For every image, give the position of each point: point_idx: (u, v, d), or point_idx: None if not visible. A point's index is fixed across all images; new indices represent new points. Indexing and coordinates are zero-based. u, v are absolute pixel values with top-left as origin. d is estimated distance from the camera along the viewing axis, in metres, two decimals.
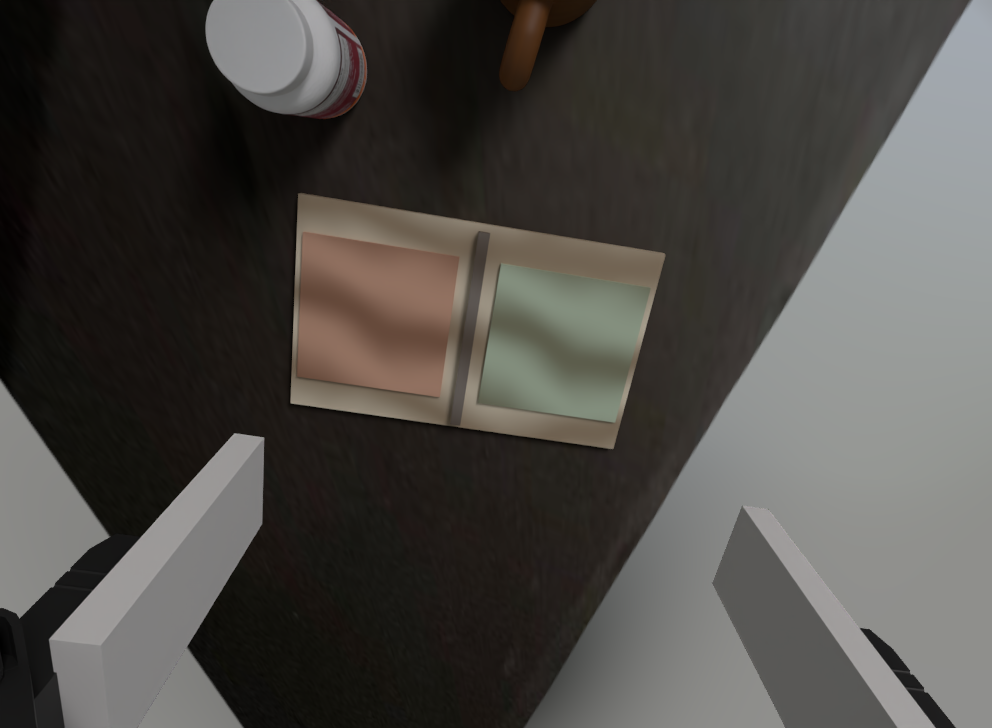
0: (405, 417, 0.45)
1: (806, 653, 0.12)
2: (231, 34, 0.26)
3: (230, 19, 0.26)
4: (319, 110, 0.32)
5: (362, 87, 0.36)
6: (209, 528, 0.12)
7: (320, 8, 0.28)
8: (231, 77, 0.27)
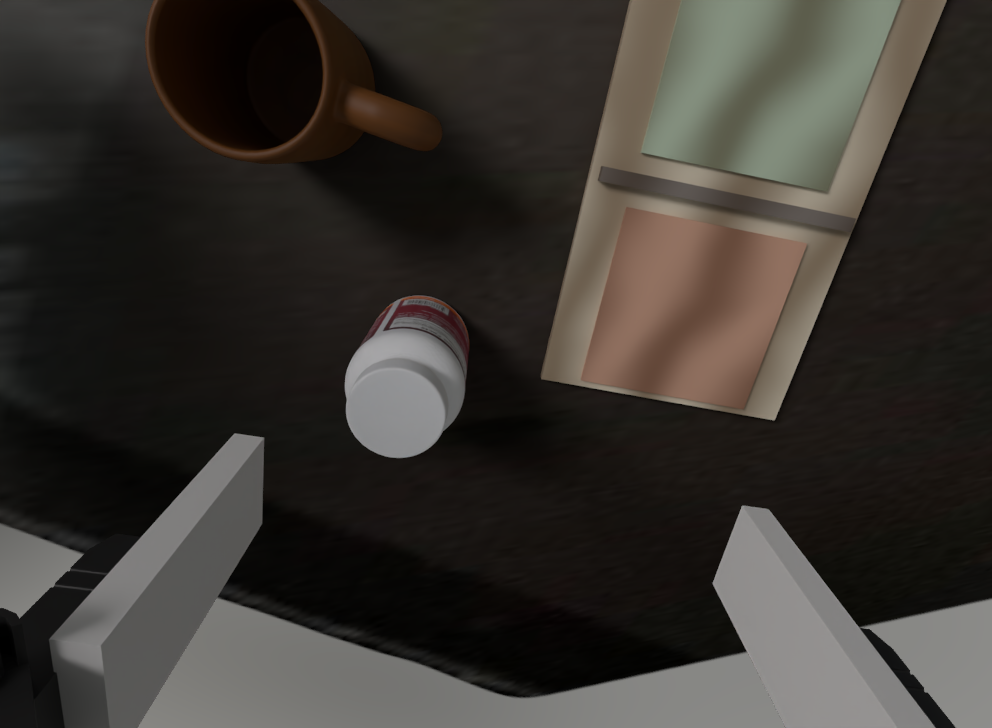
0: (824, 290, 0.35)
1: (806, 653, 0.12)
2: (392, 435, 0.26)
3: (380, 434, 0.26)
4: (461, 354, 0.30)
5: (439, 302, 0.34)
6: (209, 528, 0.12)
7: (367, 344, 0.28)
8: (431, 442, 0.27)
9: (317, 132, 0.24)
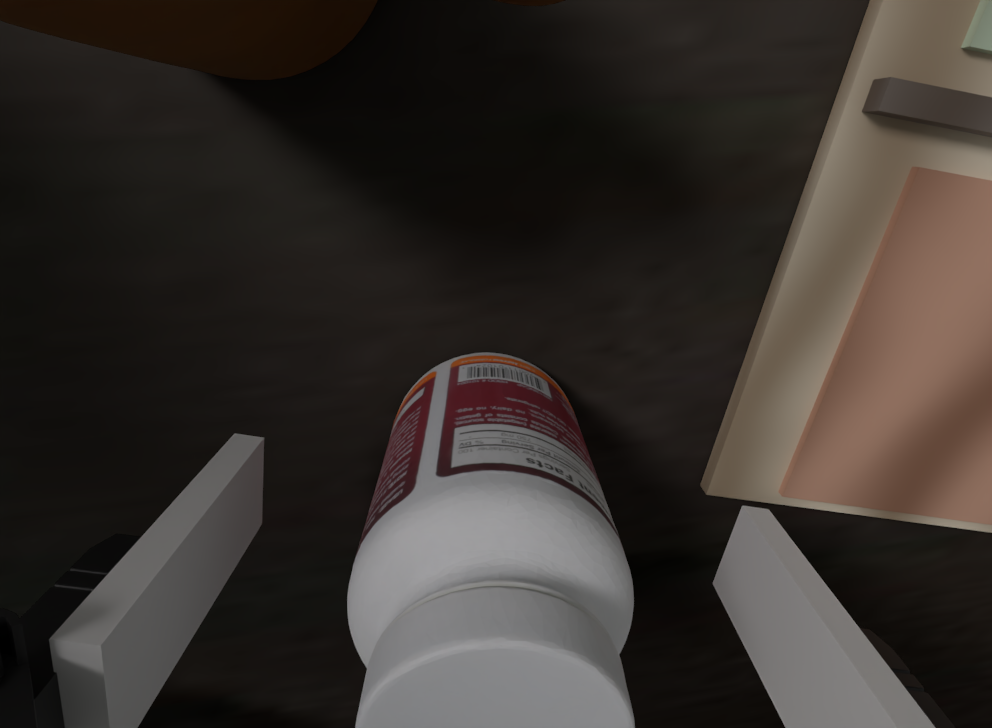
0: None
1: (806, 653, 0.12)
2: None
3: None
4: None
5: (526, 367, 0.17)
6: (209, 528, 0.12)
7: (401, 519, 0.11)
8: None
9: None
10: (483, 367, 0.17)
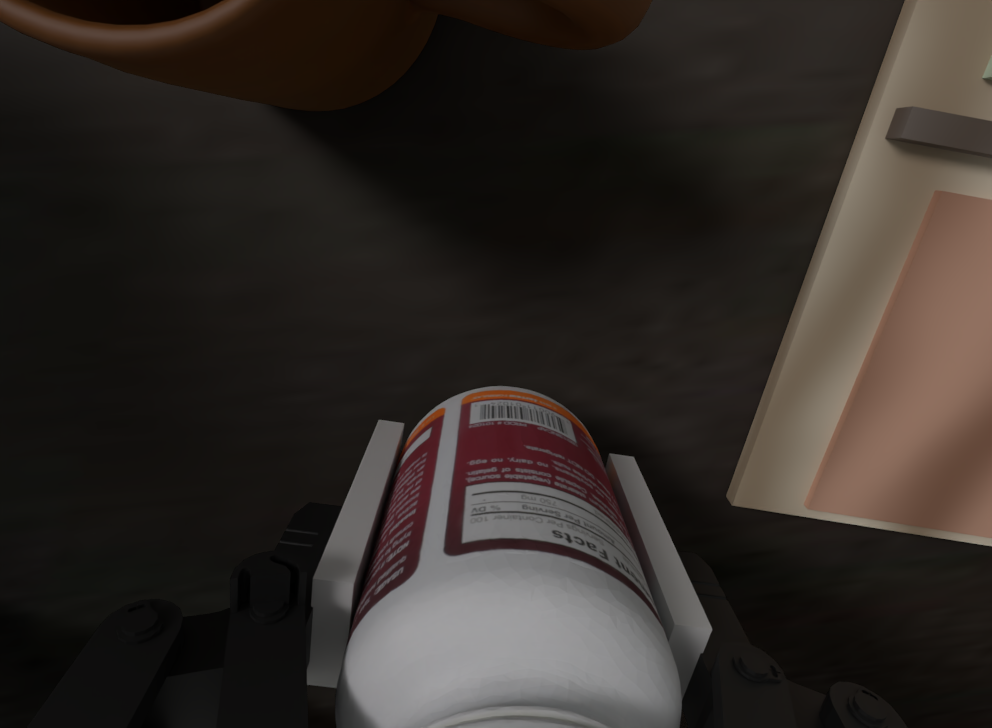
0: None
1: None
2: None
3: None
4: (643, 574, 0.12)
5: (547, 404, 0.15)
6: (384, 498, 0.14)
7: (400, 612, 0.09)
8: None
9: None
10: (498, 405, 0.15)
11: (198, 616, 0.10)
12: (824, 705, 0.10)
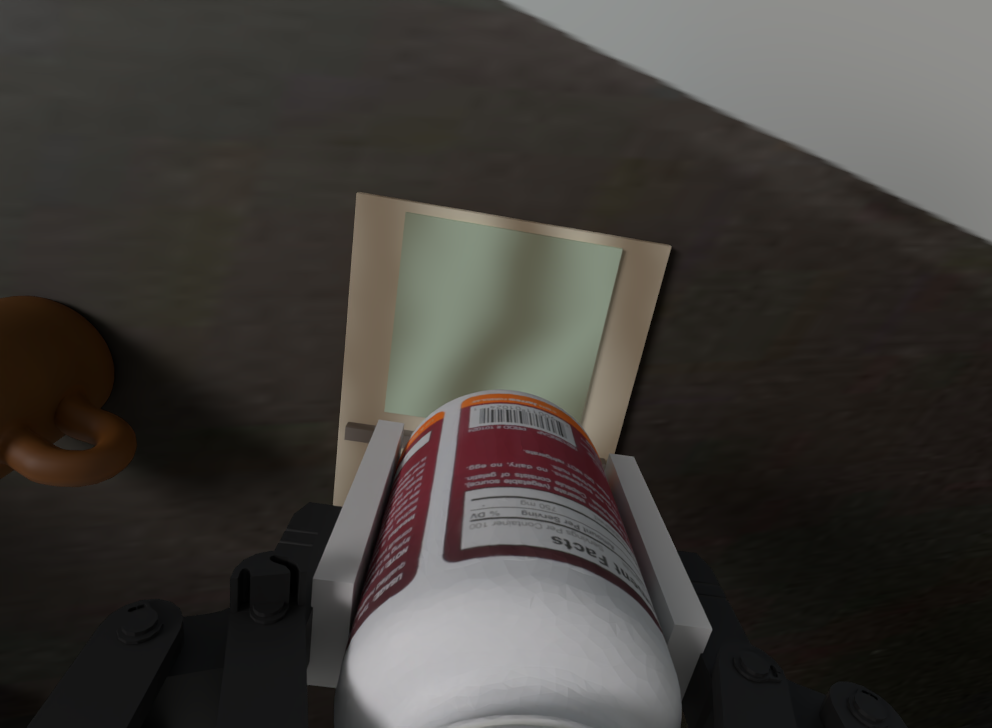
0: None
1: None
2: None
3: None
4: None
5: (546, 408, 0.15)
6: (384, 498, 0.14)
7: (399, 619, 0.09)
8: None
9: None
10: (498, 409, 0.15)
11: (198, 616, 0.10)
12: (824, 705, 0.10)
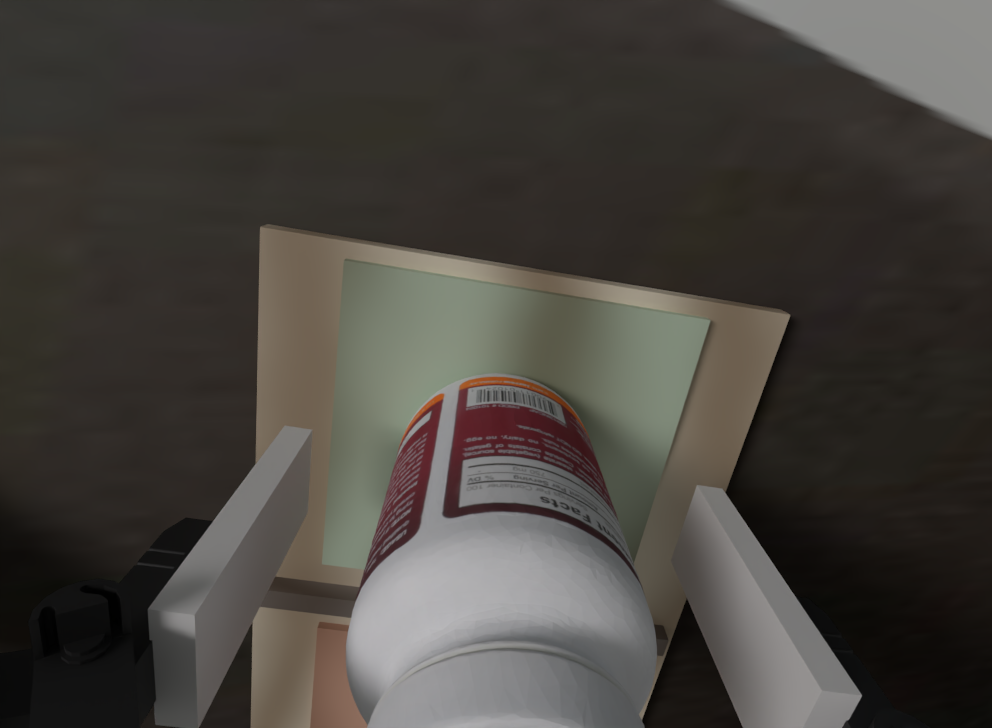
0: None
1: (745, 619, 0.13)
2: None
3: None
4: None
5: (539, 390, 0.17)
6: (271, 513, 0.13)
7: (404, 566, 0.10)
8: None
9: None
10: (493, 390, 0.16)
11: (10, 653, 0.09)
12: None
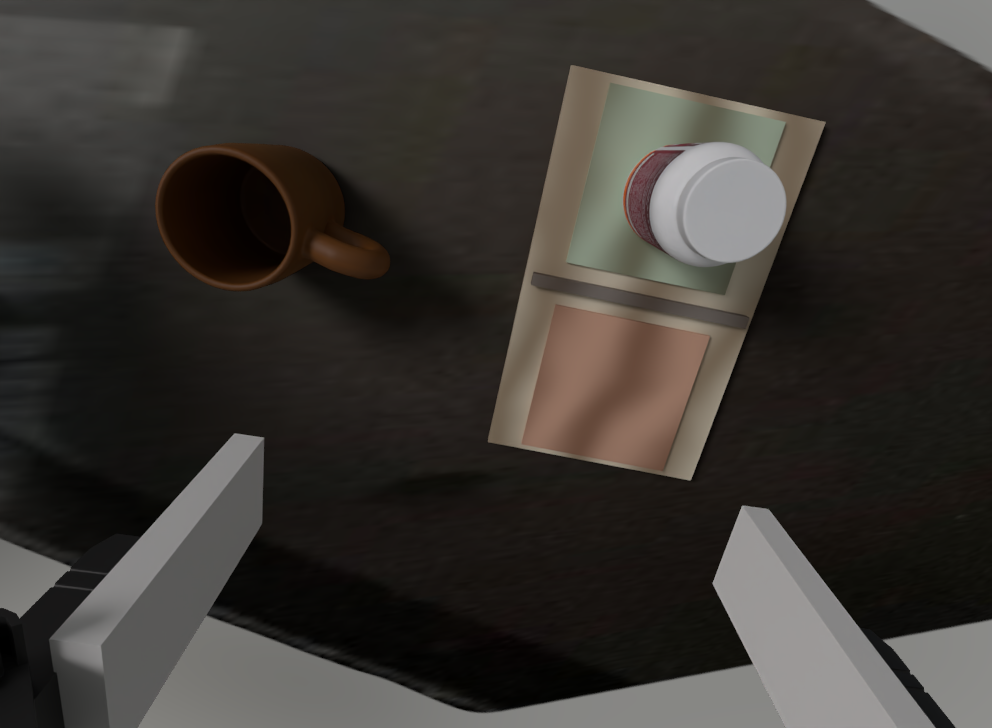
0: (728, 373, 0.41)
1: (806, 653, 0.12)
2: (726, 237, 0.26)
3: (714, 234, 0.26)
4: None
5: None
6: (209, 528, 0.12)
7: (686, 154, 0.28)
8: (764, 244, 0.26)
9: (288, 269, 0.30)
10: None
11: None
12: None
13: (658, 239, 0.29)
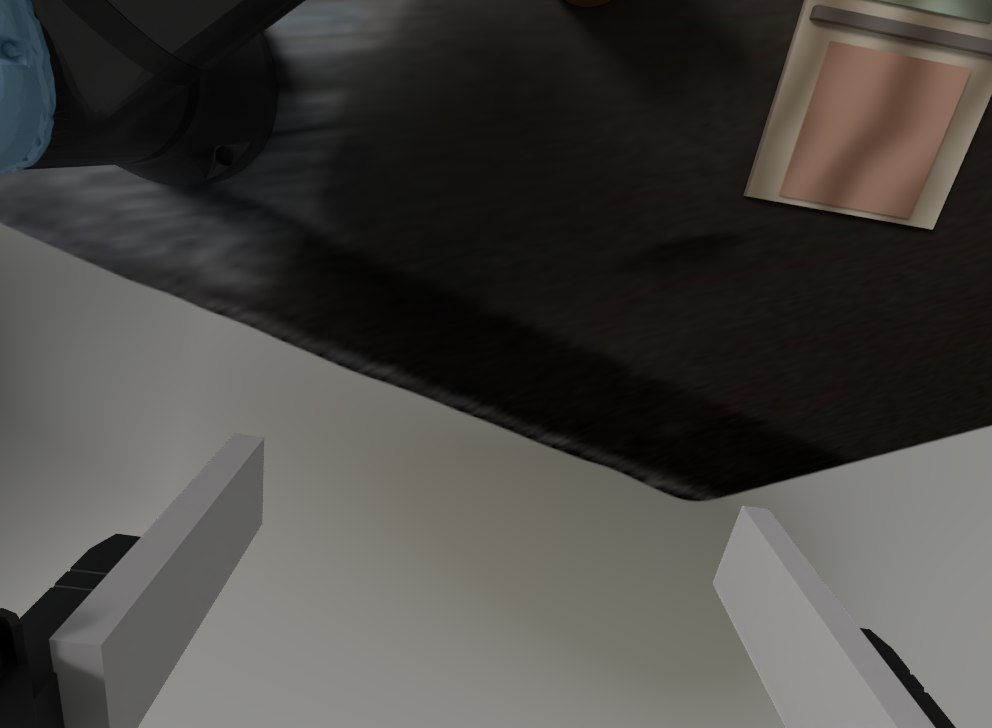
0: (982, 110, 0.43)
1: (806, 653, 0.12)
2: None
3: None
4: None
5: None
6: (209, 528, 0.12)
7: None
8: None
9: None
10: None
11: None
12: None
13: None
